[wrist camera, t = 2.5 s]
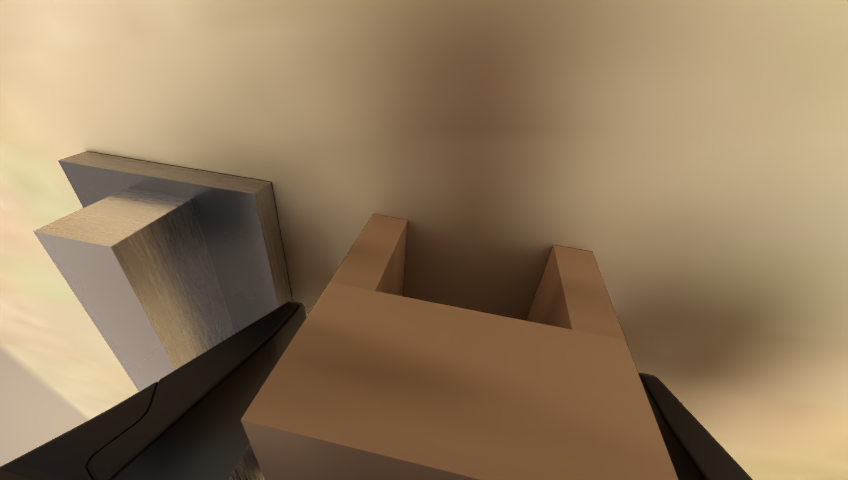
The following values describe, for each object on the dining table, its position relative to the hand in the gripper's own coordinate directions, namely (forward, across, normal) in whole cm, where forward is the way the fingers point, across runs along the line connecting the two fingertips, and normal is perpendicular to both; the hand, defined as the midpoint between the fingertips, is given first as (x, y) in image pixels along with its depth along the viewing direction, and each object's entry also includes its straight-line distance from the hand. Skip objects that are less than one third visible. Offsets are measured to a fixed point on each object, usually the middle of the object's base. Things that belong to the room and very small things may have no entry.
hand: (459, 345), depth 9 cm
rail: (+2, +9, +6) cm, 11 cm away
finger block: (+2, 0, 0) cm, 2 cm away
